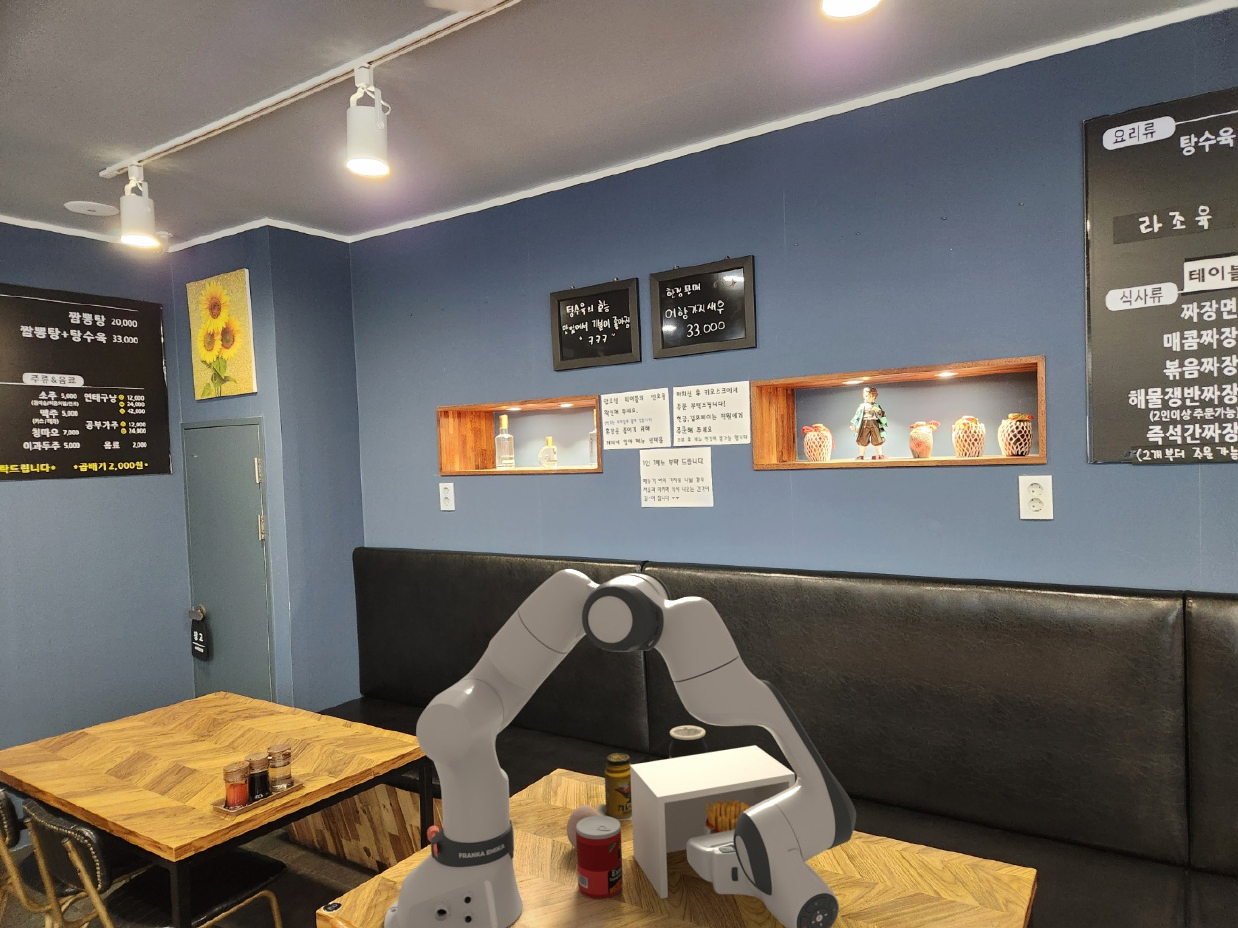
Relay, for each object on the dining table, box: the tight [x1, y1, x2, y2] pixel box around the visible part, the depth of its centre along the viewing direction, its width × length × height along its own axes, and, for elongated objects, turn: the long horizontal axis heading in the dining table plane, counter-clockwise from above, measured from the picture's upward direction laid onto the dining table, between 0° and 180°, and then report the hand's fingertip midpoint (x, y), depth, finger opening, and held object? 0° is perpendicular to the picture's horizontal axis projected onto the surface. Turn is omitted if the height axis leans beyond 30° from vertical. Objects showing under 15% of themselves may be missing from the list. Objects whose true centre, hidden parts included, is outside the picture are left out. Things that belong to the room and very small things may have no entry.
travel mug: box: [668, 725, 709, 759], centre depth 158 cm, size 8×8×18 cm
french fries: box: [706, 800, 752, 833], centre depth 132 cm, size 8×4×12 cm, turn 74°
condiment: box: [596, 752, 632, 821], centre depth 161 cm, size 7×8×12 cm
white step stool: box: [630, 744, 796, 899], centre depth 139 cm, size 26×15×17 cm, turn 107°
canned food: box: [576, 816, 624, 900], centre depth 132 cm, size 8×8×11 cm
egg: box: [566, 804, 600, 850], centre depth 146 cm, size 7×7×8 cm
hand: (727, 825), depth 133 cm, fingers closed on french fries, 6 cm apart
